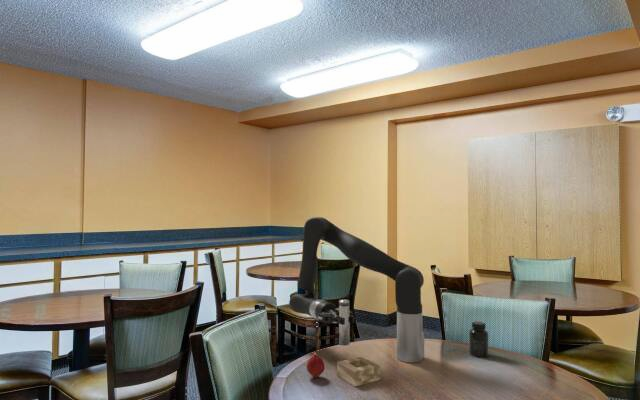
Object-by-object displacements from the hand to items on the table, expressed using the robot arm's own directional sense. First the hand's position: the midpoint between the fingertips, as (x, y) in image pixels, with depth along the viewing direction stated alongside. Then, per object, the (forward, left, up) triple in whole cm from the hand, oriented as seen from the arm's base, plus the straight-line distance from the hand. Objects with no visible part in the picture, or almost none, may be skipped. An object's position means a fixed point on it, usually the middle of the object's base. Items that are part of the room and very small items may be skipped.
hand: (348, 320), depth 142 cm
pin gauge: (0, -3, -9) cm, 9 cm away
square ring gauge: (+1, +7, -17) cm, 18 cm away
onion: (+13, 0, -17) cm, 21 cm away
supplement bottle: (-52, +12, -17) cm, 56 cm away
